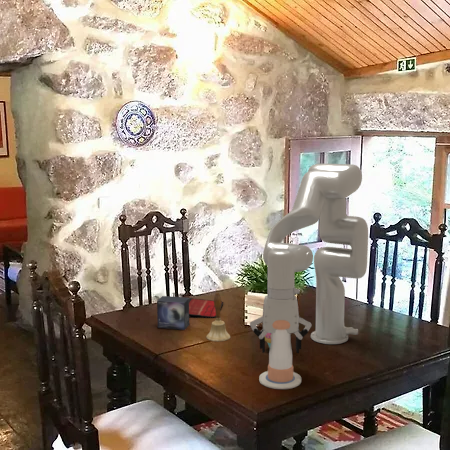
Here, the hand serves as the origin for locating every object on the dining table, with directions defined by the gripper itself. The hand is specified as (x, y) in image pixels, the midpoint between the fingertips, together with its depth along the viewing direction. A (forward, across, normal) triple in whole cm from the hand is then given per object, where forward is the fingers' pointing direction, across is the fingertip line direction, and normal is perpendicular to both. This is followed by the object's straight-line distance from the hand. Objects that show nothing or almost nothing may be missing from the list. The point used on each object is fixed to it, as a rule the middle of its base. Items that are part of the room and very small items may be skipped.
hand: (280, 351), depth 180 cm
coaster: (+9, 0, 0) cm, 9 cm away
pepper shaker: (+8, 0, 0) cm, 8 cm away
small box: (+9, +37, -47) cm, 61 cm away
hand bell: (+9, +20, -36) cm, 42 cm away
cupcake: (+9, 0, -24) cm, 26 cm away
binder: (+10, +29, -68) cm, 74 cm away
